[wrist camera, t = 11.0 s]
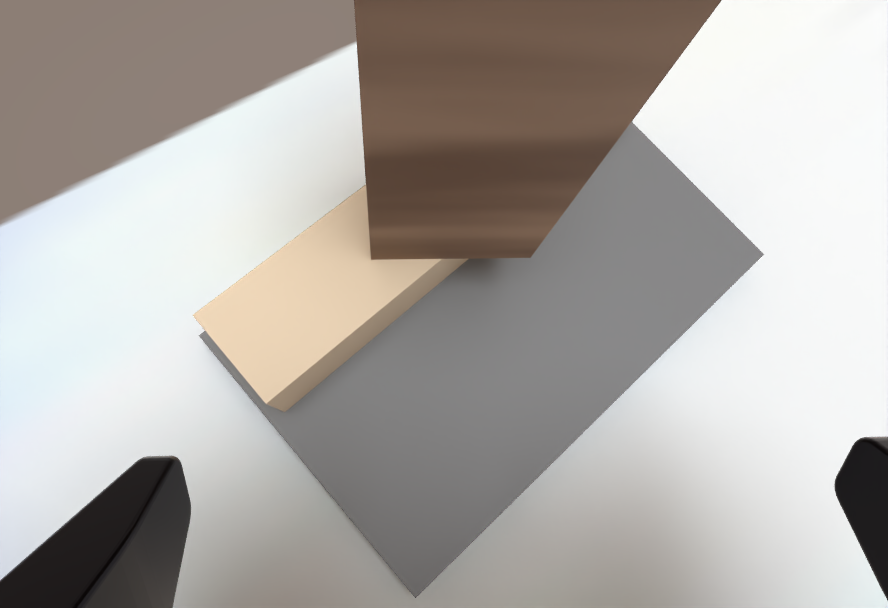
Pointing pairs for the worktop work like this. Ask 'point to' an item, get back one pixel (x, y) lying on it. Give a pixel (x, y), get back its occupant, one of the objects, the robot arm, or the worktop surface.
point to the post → (499, 112)
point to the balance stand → (469, 349)
